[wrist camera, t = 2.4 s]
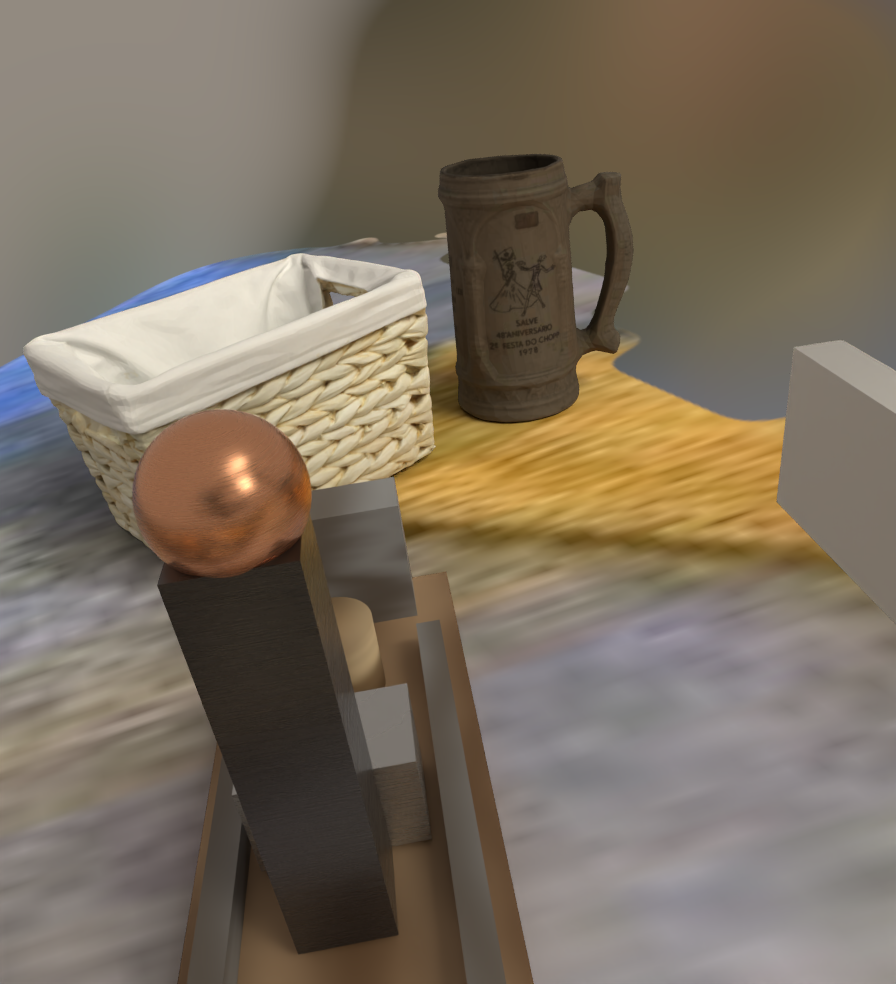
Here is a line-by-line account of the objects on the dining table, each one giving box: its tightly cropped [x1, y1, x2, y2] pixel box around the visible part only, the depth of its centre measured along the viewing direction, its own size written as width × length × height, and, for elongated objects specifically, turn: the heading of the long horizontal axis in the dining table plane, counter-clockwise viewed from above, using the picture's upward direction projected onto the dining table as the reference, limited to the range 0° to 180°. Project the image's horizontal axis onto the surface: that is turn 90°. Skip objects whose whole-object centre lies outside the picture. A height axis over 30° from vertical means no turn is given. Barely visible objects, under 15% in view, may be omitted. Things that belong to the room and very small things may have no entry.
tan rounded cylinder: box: [331, 597, 386, 693], centre depth 38 cm, size 4×4×4 cm
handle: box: [132, 409, 432, 955], centre depth 26 cm, size 7×8×19 cm
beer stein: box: [438, 154, 633, 423], centre depth 66 cm, size 15×11×20 cm
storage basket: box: [23, 253, 436, 550], centre depth 58 cm, size 24×16×15 cm
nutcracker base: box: [177, 477, 534, 984], centre depth 34 cm, size 12×24×9 cm, turn 7°
